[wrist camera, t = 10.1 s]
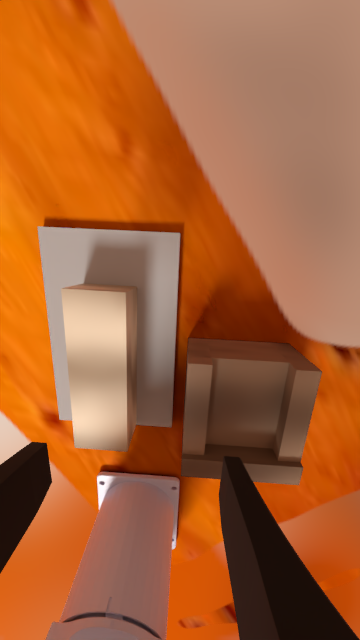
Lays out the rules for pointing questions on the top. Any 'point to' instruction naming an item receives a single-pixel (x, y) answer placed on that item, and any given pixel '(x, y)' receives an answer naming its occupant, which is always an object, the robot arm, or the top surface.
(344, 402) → the top surface
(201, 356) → the holder
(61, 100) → the top surface
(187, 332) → the top surface
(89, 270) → the mat
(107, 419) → the bar
